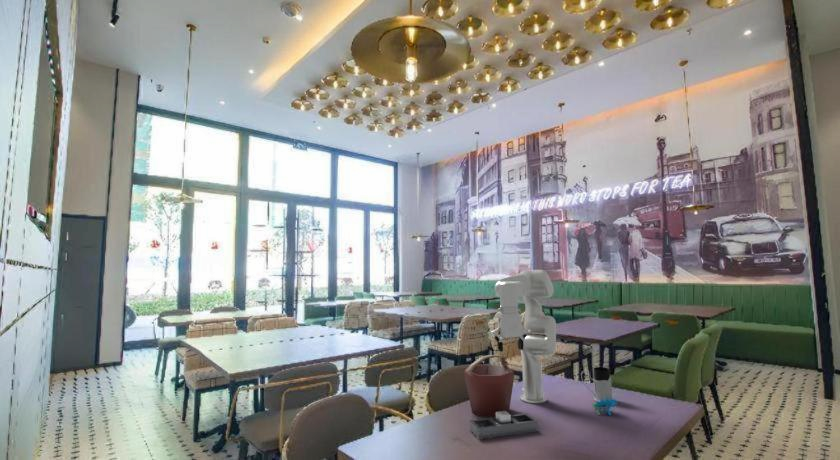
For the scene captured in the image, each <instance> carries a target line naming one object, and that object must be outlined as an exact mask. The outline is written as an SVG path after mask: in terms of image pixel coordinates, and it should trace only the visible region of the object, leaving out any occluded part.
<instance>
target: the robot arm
mask: <svg viewBox="0 0 840 460" xmlns="http://www.w3.org/2000/svg"><path fill="white" fill-rule="evenodd" d="M554 290H555V289H554V285H553V282H552V280H551V278H550V276H549V273H547V271H545V270H544V269H525V270H523V271H521V272H520V273H518V274H515V275H512V276H507V277H504V278H500V279H499V280H498V281H497V282H496V283H495V286H494V293H495V295H496V296H497V298H499V303H500V304H499V308H497V312H499V313H498V318H497V328H495V329H493V330H492V331H491V335H492V337H493V339H494V340H495V341H496V343H497V349H498V351H499V352H501V353H502V352H504V343H503V340H504V339H509V338H510V339H511V338H517V348H518V350H520V354H521V365H522V368H521V369H522V388H521V391H523V392H522V394H521V395H520V400H521V401H523V402H525V403H530V404H543V403H545V402H547V396H545V395H544V388H543V387H544V386H543V384H544V383H543V371H542V370H543V366H542V362H541V360H540V358H539V357H538V356H544V357H553V356H554V355H555V353H556V344H557V341H556V340H557V321H556V319H555V318H554V317H553V316H552V315H543V307H542V305H541V303H540V302H539V301H538V300H537V299H536V298H543V299H544V298H547V299H548V298H551V297H553V295H554ZM518 299H522V300H523V303H524V306H525V312H524V323H522V322H523V321H522V316H521V314H520V312H519V305H518ZM523 324H524V325H523ZM497 334H498V335H497Z"/></svg>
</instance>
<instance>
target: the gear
mask: <svg viewBox="0 0 840 460" xmlns="http://www.w3.org/2000/svg"><path fill="white" fill-rule="evenodd" d="M605 400H606V401H604V400H603V399H601V400H600V402H598V401H596V402H595V403H592V404H591V406H592V409H594V411H596V412H597V415H598V416H600V415H601V413H600V411H606V412H607V414H608V416H610V417H611V416H612V414H611V411H610V409H612V408H615V407H616V405H617V404H618V402H617V399H616V398H615V399H614V398H613V397H612V398H610V400H609V399H608V398H606V399H605Z"/></svg>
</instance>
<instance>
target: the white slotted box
mask: <svg viewBox="0 0 840 460" xmlns="http://www.w3.org/2000/svg"><path fill="white" fill-rule="evenodd" d="M496 422H497V423H498V424H500V425H502V424H509V423H511V414H510V412H509V413H508V412H506V411H500V412H496Z"/></svg>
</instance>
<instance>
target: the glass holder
mask: <svg viewBox="0 0 840 460" xmlns="http://www.w3.org/2000/svg"><path fill="white" fill-rule="evenodd" d="M584 372H586V373H588V374H589V378H590V380H591V381H593V384H594V385H593V388H594V391H593V390H592V389H591V388H589V387H588V386H587V385H586V383H585V382H584V380H583V373H584ZM611 375H612V374H611V369H610V368H608V367H602V366H601V367H600V366H594V367H593V378H592V377H591V373H590V371H588V370H583V371H581V374H580V376H581V377H580V378H581V381H582V383H583V386H585V388H586V389H588V390H589V391H590V392H591V393H592V394H593V396H594V398H593V399H594V401H596V402H600V400H601V399H603V400H604V401H606V400H605V399H606V398H608V399H609V400H610V398H613V390H612V389H613V388H612V387H613V386H612V376H611Z"/></svg>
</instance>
